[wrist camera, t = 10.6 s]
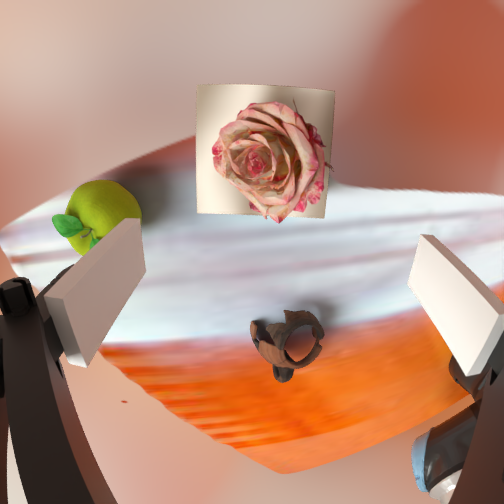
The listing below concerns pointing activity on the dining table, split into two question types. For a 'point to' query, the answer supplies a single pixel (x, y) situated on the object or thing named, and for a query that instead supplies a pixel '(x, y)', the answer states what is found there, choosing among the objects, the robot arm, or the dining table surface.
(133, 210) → the fruit
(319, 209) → the pedestal
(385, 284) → the dining table surface
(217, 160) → the flower
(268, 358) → the pottery mug
